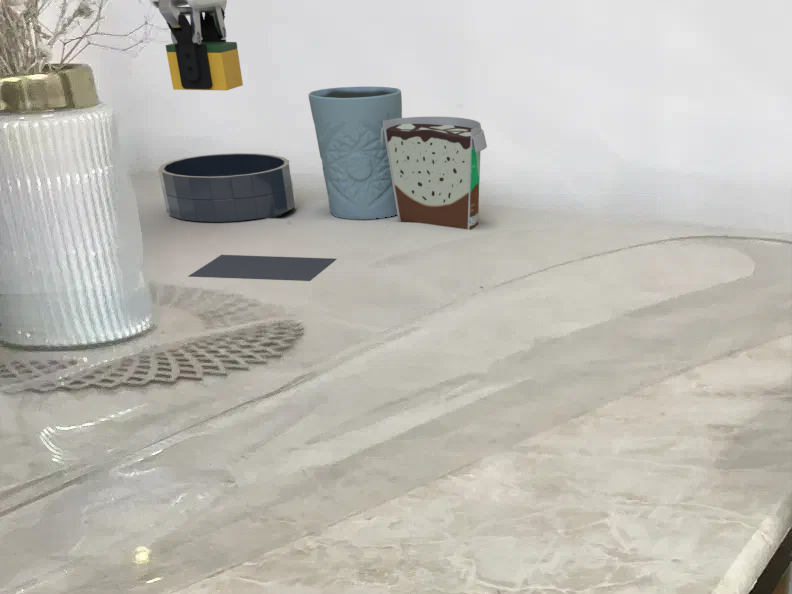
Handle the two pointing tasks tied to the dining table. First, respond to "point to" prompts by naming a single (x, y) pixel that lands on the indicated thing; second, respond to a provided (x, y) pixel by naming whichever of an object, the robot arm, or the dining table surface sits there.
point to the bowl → (227, 187)
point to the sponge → (212, 66)
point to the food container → (435, 169)
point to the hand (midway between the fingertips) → (207, 83)
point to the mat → (264, 267)
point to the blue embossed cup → (356, 148)
